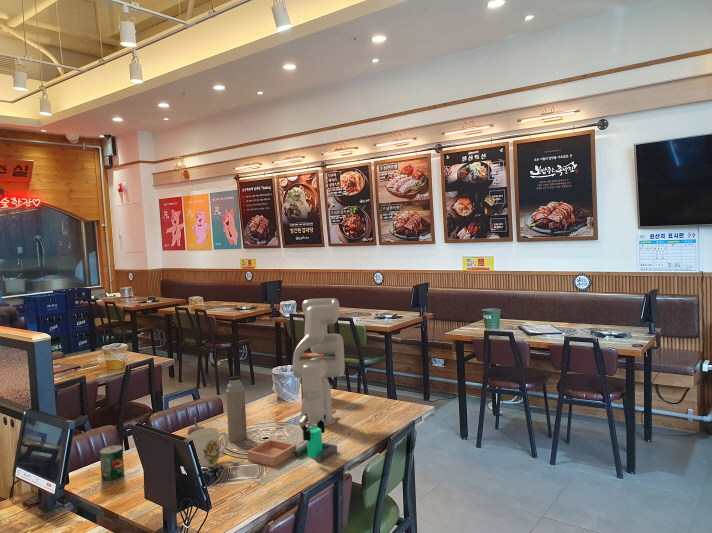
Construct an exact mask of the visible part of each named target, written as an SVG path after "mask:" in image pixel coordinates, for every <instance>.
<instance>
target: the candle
mask: <svg viewBox="0 0 712 533" xmlns="http://www.w3.org/2000/svg"><path fill="white" fill-rule="evenodd" d="M309 431H310V439H311V440H310V441H307V440H306V443H307V449H308V452H307V456H308V458H311V459H316V456H317V455H318V454H320V453H321V452H323V451H322V443H323V437H322V436H323V435H322V434H323V433H322V431H321V429H320V428H318V427H315V426H310V429H309Z"/></svg>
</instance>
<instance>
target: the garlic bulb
mask: <svg viewBox="0 0 712 533" xmlns="http://www.w3.org/2000/svg"><path fill="white" fill-rule="evenodd" d="M193 423H194V424H193V425H191V426H189V428H188V430H187V436H188V435H190V434H191V433H192V432H194V431H196V430H199V429H203V428H205V427H204V426H203V425H200V424H198V422H197V418H196V417H194V418H193Z"/></svg>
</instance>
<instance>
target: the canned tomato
mask: <svg viewBox="0 0 712 533" xmlns="http://www.w3.org/2000/svg"><path fill="white" fill-rule="evenodd" d="M123 448H124V447H123V446H122V445H121V444H113V445H109V446H105V447H103V448H101V449H100V450H99V455H100V456H99V458H100V472H101V476H100V477H101V481H102V482H103V483H111V482H117V481H119V480H121V479H122V478H124V477H125V468H124V467H125V466H124V451H123Z"/></svg>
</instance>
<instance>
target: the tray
mask: <svg viewBox="0 0 712 533" xmlns="http://www.w3.org/2000/svg"><path fill="white" fill-rule="evenodd" d="M296 449H297V444H296V443H295V444H294V443H290V442H285V441H282V440H276V439H272V438H269V439H267V440H266V441H264V442H262V443H260V444H258V445H256V446H254V447H253V448H250V449H249V450H247V451H246V453H247V454H246V455H247V456H246V457H247V460H248V461H251V462H255V463H259V464H263V465H267V466H271V467H275V466H278V465H279V464H281V463H282V462H284V461H286V460H287V459H289V458H290V457H292V456H294V451H295V450H296Z"/></svg>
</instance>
